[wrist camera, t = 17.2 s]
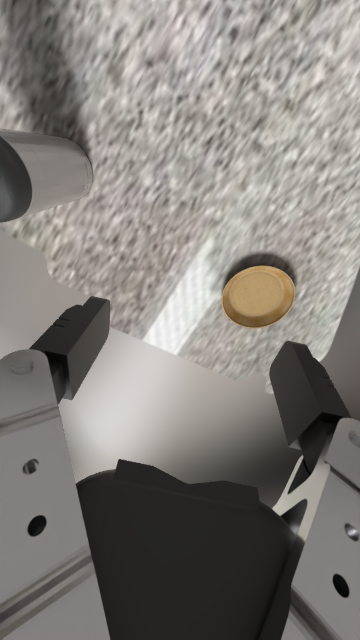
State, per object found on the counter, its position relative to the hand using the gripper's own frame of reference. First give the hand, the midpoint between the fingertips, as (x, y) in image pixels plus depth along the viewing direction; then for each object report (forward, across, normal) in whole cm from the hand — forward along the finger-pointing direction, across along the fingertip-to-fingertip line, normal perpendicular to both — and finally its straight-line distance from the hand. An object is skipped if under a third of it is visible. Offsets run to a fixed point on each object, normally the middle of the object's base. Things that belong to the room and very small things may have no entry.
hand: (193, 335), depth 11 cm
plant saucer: (+38, -15, +15) cm, 44 cm away
